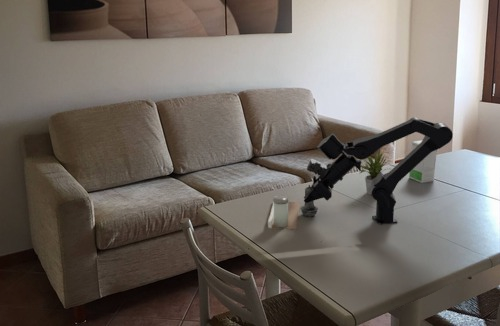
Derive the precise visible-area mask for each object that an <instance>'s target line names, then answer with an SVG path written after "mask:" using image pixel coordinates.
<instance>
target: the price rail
mask: <svg viewBox="0 0 500 326" xmlns="http://www.w3.org/2000/svg"><path fill="white" fill-rule="evenodd" d="M277 196H278V195H277ZM277 196H274V197H277ZM272 203H273V204H272V206H271V210H270V214H269V216H268V220H267V229H273V228H272V224H273V220H274V202H272Z"/></svg>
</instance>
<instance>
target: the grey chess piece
mask: <svg viewBox="0 0 500 326" xmlns="http://www.w3.org/2000/svg"><path fill="white" fill-rule="evenodd" d="M312 189H313V188H312V187H311V185H310V184H309V185H308V186H307V187H305V188H304V196H305V197H304V196H303V199H304V200H305V198H306V197H307V196H308V194H309V193H310V192H311V191H312ZM314 201H315V200H314ZM314 201H311V202H307V203H305V202H304V205H303V206H301V207H299V210H301V213H302V215H303V216H304V217H314V216H316V214H317V212H318V209H319V208H318V207H317V206H315V202H314Z"/></svg>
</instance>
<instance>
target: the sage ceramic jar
mask: <svg viewBox="0 0 500 326" xmlns="http://www.w3.org/2000/svg"><path fill="white" fill-rule="evenodd" d="M288 202H289V197H288V196H285V195H277V197H275V196H274V197H273V202H272V203H274V226H276V227H280V228H282V227H287V226H288Z"/></svg>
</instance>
